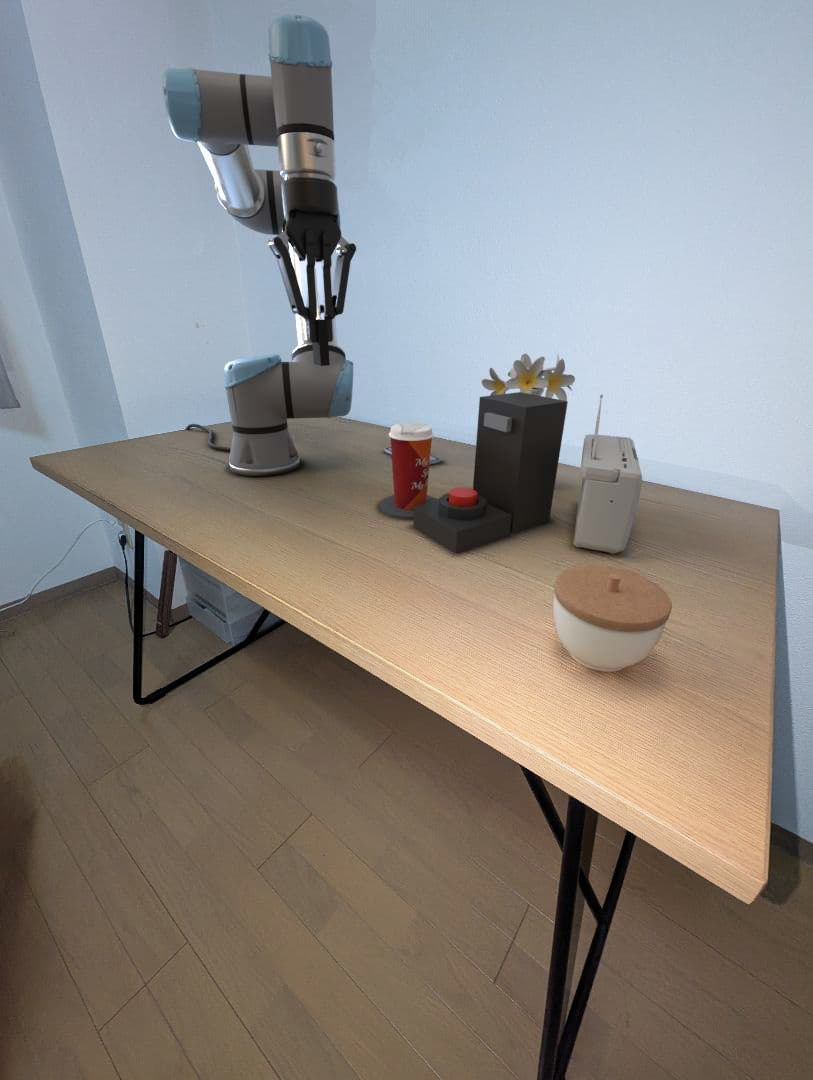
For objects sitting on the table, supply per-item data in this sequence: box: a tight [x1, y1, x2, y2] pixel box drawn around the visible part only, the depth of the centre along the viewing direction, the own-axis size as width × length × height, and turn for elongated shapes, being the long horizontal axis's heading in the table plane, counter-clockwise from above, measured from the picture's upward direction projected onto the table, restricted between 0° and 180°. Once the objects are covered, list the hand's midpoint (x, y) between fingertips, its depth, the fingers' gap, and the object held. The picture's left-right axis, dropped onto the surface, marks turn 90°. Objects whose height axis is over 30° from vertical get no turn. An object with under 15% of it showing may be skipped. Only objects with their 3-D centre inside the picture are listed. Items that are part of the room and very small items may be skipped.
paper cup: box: [388, 422, 435, 510], centre depth 82 cm, size 8×8×14 cm
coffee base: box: [413, 492, 512, 554], centre depth 75 cm, size 11×11×6 cm
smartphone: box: [384, 446, 441, 465], centre depth 114 cm, size 7×1×15 cm
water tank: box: [472, 391, 569, 534], centre depth 77 cm, size 10×10×20 cm
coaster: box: [379, 494, 439, 520], centre depth 85 cm, size 11×11×1 cm
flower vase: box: [481, 352, 576, 401], centre depth 92 cm, size 13×18×25 cm
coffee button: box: [448, 487, 477, 506], centre depth 74 cm, size 4×4×2 cm
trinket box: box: [552, 564, 673, 673], centre depth 48 cm, size 11×11×9 cm
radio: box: [573, 393, 643, 555], centre depth 74 cm, size 21×8×20 cm, turn 160°
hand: (321, 364), depth 75 cm, fingers closed
